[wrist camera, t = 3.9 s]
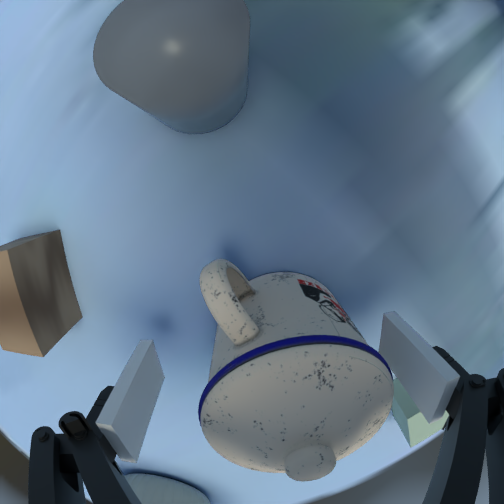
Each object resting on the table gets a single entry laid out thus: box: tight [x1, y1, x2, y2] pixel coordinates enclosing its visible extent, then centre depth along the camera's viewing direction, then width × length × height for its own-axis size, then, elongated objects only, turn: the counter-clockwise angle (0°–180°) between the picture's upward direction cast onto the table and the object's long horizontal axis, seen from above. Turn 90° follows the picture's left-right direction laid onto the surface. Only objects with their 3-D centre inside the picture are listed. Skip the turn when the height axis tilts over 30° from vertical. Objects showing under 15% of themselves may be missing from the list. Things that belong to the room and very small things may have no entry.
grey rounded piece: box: [93, 0, 250, 134], centre depth 11 cm, size 6×6×8 cm
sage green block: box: [391, 378, 449, 447], centre depth 19 cm, size 6×6×5 cm
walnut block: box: [0, 230, 82, 357], centre depth 15 cm, size 7×5×6 cm
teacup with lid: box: [198, 259, 394, 481], centre depth 13 cm, size 12×9×12 cm
